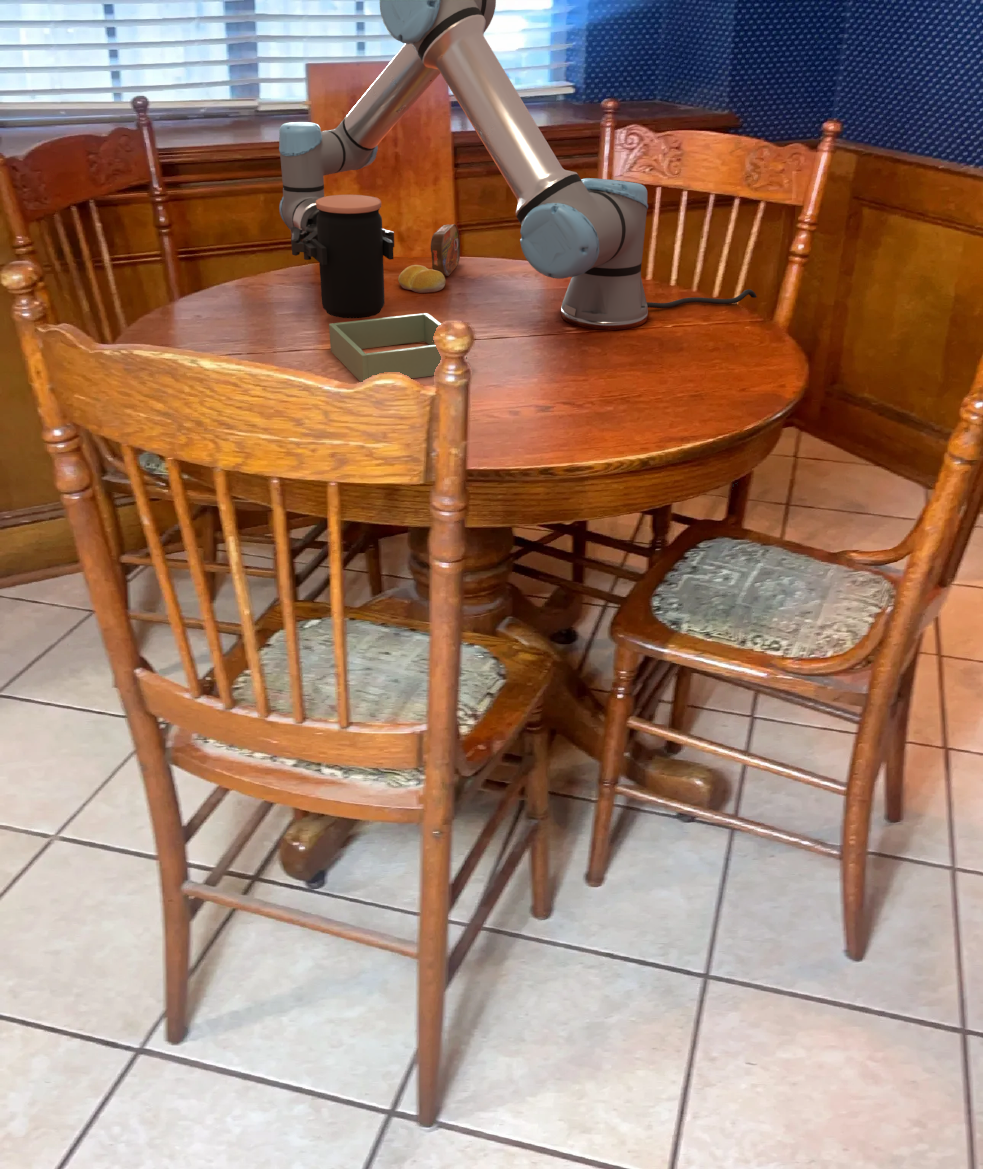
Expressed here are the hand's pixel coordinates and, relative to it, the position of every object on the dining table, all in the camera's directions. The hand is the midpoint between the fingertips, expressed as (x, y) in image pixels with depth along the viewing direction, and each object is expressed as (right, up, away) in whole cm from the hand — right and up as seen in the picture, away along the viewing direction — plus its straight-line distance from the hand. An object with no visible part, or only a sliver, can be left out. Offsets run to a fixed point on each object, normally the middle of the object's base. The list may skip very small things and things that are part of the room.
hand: (358, 253), depth 169 cm
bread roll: (+8, +3, +30) cm, 31 cm away
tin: (+13, +9, +41) cm, 44 cm away
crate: (+7, -19, -7) cm, 22 cm away
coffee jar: (-2, -7, +9) cm, 11 cm away
